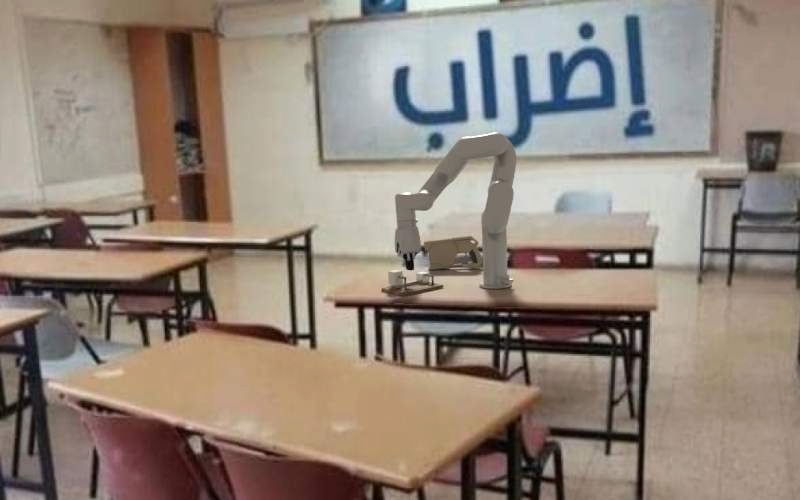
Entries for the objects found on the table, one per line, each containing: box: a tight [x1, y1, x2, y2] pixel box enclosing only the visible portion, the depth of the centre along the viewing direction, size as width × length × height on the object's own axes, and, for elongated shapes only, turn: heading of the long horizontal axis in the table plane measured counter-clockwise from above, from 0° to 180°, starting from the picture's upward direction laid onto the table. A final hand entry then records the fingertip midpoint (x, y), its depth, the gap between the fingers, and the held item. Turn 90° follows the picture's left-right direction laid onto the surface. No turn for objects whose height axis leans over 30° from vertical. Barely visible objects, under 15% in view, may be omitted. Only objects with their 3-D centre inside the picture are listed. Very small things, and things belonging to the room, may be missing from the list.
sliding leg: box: [387, 269, 407, 289], centre depth 311 cm, size 8×4×6 cm, turn 38°
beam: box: [387, 271, 435, 290], centre depth 315 cm, size 8×19×4 cm, turn 128°
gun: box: [423, 235, 483, 271], centre depth 350 cm, size 24×3×15 cm, turn 84°
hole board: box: [381, 281, 444, 297], centre depth 314 cm, size 14×20×1 cm
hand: (410, 269), depth 316 cm, fingers closed
